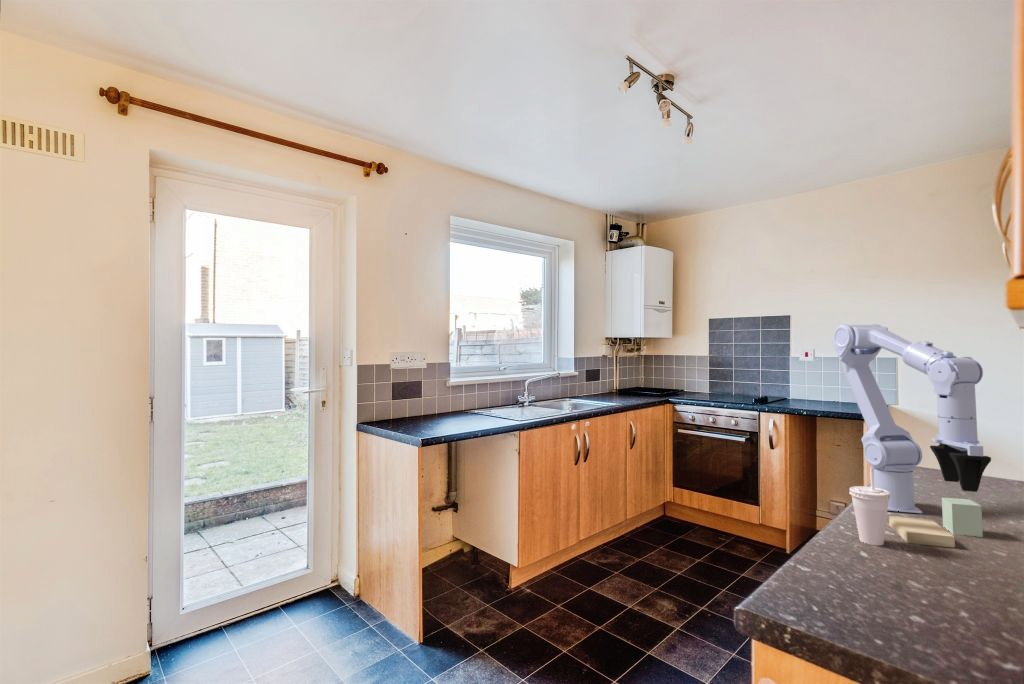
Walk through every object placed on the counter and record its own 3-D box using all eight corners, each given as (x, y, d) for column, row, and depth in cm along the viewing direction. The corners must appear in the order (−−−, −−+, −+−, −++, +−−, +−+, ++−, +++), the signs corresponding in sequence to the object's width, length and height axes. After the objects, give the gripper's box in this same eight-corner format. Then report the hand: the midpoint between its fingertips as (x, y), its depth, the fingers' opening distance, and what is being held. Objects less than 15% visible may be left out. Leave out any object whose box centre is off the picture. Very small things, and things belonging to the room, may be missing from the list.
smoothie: (900, 549, 88) (897, 471, 89) (861, 547, 90) (857, 470, 90) (881, 536, 94) (878, 464, 95) (844, 534, 96) (841, 463, 96)
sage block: (943, 526, 99) (941, 497, 99) (971, 529, 97) (969, 499, 98) (953, 534, 95) (951, 503, 95) (982, 537, 93) (981, 505, 93)
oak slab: (889, 525, 100) (889, 515, 100) (931, 529, 98) (931, 519, 98) (907, 542, 91) (907, 532, 91) (954, 547, 88) (954, 536, 88)
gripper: (917, 412, 105) (920, 475, 105) (947, 421, 92) (951, 493, 91) (959, 413, 103) (962, 478, 102) (996, 422, 89) (1000, 497, 89)
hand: (960, 485), depth 97 cm, fingers open, 7 cm apart
